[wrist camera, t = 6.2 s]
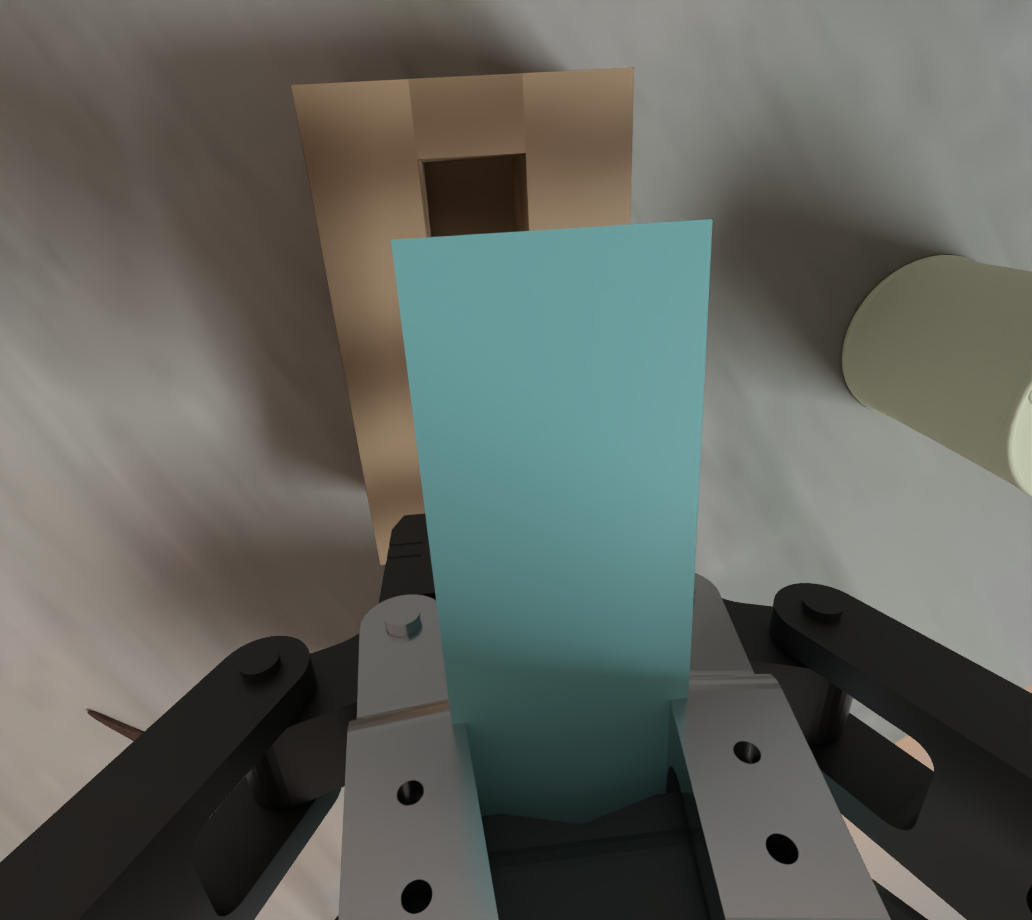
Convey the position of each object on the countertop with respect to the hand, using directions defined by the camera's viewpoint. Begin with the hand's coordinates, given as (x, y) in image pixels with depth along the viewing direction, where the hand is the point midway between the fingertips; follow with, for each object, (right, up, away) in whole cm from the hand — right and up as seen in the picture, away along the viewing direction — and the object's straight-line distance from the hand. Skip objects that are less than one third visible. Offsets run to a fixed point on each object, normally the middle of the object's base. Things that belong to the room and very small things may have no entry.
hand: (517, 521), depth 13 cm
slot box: (-2, +9, +19) cm, 21 cm away
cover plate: (-1, +2, +7) cm, 7 cm away
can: (+23, +8, +22) cm, 33 cm away
